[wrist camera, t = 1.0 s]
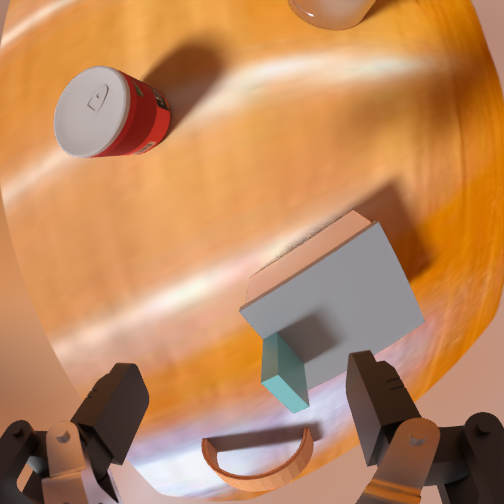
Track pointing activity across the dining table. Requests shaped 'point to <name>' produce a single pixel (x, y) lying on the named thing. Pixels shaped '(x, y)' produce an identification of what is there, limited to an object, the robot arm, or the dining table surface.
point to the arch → (267, 479)
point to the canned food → (109, 115)
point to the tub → (305, 254)
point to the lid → (332, 315)
